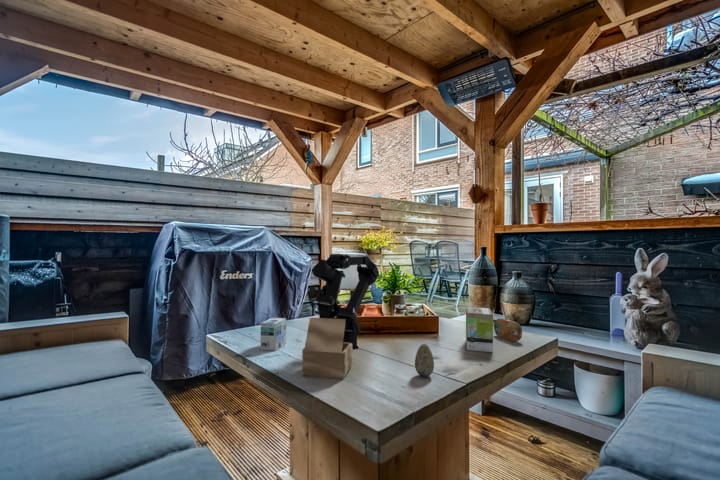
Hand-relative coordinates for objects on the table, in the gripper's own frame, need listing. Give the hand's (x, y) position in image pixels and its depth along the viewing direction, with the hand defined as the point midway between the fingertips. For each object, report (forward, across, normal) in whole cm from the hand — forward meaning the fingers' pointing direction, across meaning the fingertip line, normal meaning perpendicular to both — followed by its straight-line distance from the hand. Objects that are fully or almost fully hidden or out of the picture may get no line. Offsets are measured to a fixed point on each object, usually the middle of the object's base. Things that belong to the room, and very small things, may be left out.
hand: (323, 326), depth 125 cm
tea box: (-6, -24, +60) cm, 65 cm away
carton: (+14, +7, +6) cm, 17 cm away
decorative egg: (+10, +9, +37) cm, 39 cm away
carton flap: (+4, +14, +4) cm, 15 cm away
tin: (-13, -35, +75) cm, 83 cm away
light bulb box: (+10, -17, -22) cm, 29 cm away
